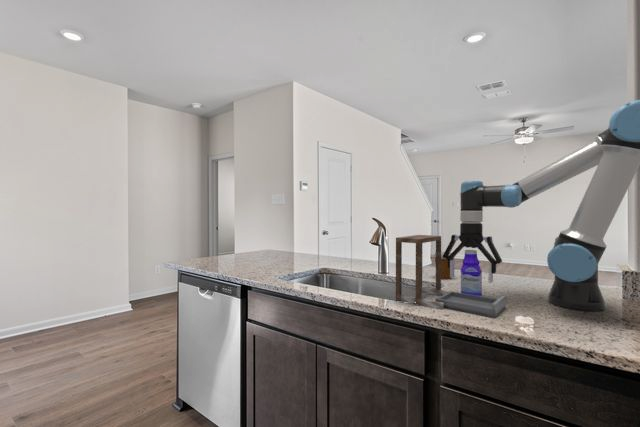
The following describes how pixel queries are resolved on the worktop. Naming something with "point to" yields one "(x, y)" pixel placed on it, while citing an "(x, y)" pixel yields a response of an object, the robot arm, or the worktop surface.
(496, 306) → the tray
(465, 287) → the bottle
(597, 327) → the worktop surface
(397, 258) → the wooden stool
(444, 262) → the disposable coffee cup
